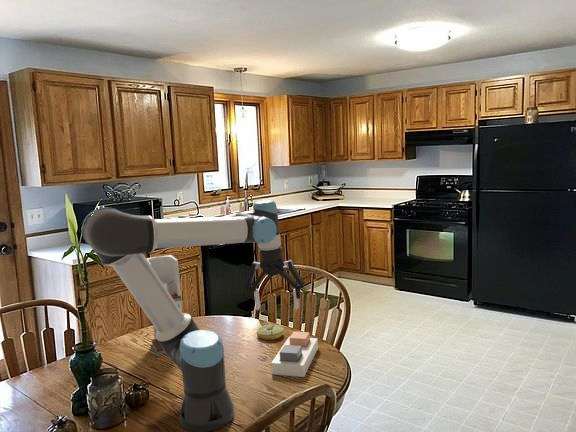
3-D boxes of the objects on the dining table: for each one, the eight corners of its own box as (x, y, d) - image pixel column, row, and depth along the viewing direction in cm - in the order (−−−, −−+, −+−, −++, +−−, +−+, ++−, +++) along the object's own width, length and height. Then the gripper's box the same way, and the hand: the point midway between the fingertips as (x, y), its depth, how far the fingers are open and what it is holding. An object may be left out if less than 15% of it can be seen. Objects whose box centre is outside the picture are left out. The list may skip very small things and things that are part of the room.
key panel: (304, 377, 148) (303, 365, 148) (271, 374, 151) (271, 362, 151) (318, 348, 169) (317, 338, 169) (289, 346, 172) (289, 336, 172)
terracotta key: (306, 346, 162) (305, 338, 162) (289, 345, 164) (289, 337, 163) (309, 340, 168) (309, 332, 167) (294, 339, 169) (293, 331, 169)
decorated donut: (267, 329, 191) (267, 320, 191) (288, 334, 185) (288, 325, 185) (252, 338, 183) (251, 329, 182) (273, 343, 177) (272, 334, 176)
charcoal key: (297, 362, 150) (297, 353, 150) (280, 360, 152) (279, 352, 152) (301, 354, 156) (301, 345, 156) (285, 353, 158) (284, 344, 157)
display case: (152, 344, 182) (143, 258, 177) (178, 338, 186) (171, 254, 182) (157, 354, 171) (148, 264, 167) (185, 348, 176) (177, 259, 171)
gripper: (309, 242, 151) (315, 303, 154) (238, 246, 157) (246, 304, 160) (304, 248, 144) (311, 311, 147) (230, 252, 150) (239, 313, 153)
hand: (277, 308), depth 154 cm, fingers open, 13 cm apart
